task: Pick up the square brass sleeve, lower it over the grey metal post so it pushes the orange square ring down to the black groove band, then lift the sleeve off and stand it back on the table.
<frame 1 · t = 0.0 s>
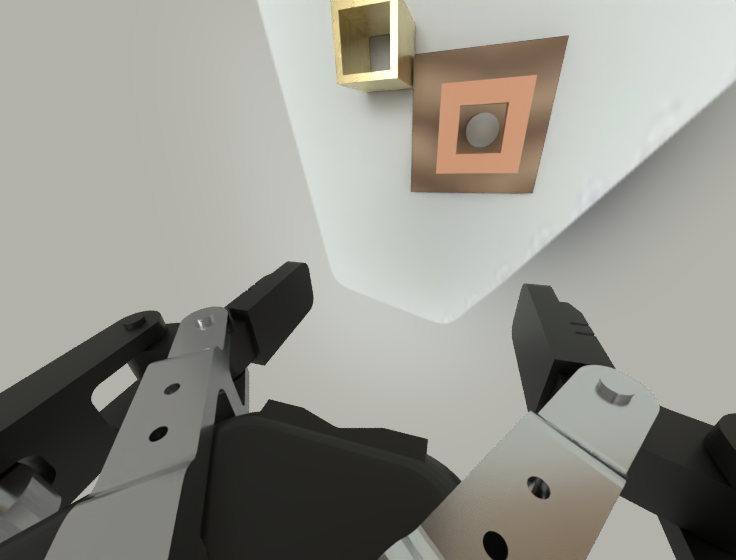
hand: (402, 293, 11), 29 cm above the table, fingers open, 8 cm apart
sleeve: (388, 59, 31), on the table
orange square ring: (480, 129, 22), point 11 cm above the table, slide at 0.0 cm
post stand: (475, 126, 32), on the table
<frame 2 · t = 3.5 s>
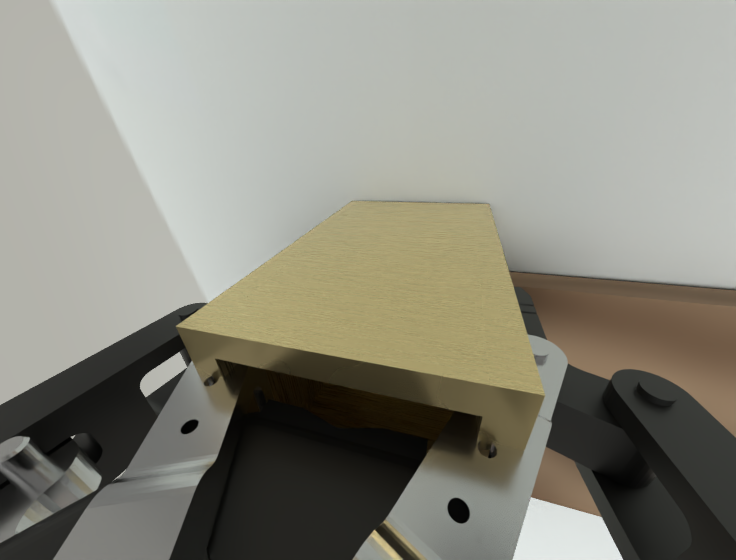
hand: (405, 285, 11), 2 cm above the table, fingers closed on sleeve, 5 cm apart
sleeve: (413, 263, 13), on the table, touching gripper
post stand: (617, 412, 13), on the table
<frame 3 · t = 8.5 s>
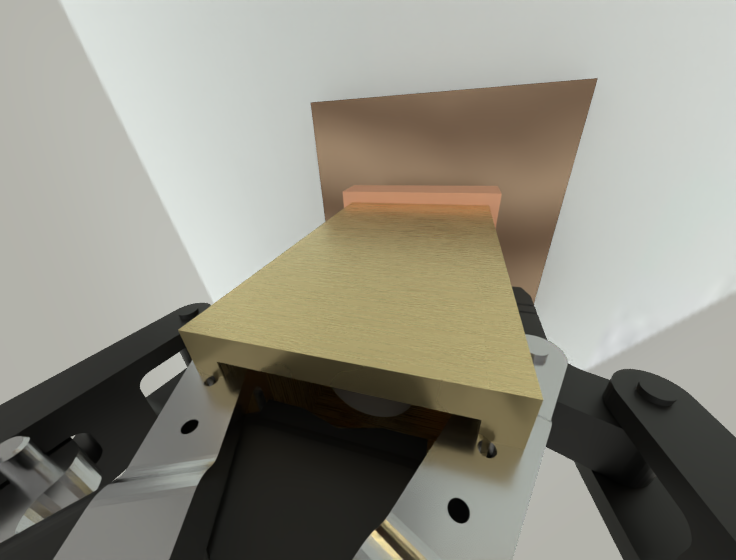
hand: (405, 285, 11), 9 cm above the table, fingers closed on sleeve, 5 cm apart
sleeve: (413, 264, 13), point 7 cm above the table, touching gripper, orange square ring
orange square ring: (415, 257, 14), point 6 cm above the table, slide at 5.2 cm, touching sleeve
post stand: (429, 219, 19), on the table
when the fingers open (3 cm above the table, at t = 14.9 s): sleeve drops 1 cm, on the table.
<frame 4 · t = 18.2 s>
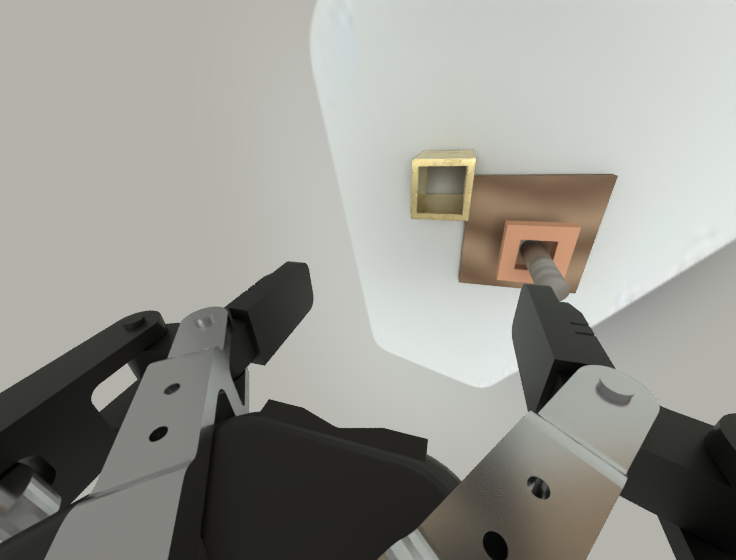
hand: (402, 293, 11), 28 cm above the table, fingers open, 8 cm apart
sleeve: (446, 175, 34), on the table
orange square ring: (533, 253, 30), point 6 cm above the table, slide at 5.2 cm
post stand: (523, 234, 35), on the table
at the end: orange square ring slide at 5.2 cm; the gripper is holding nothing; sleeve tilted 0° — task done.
